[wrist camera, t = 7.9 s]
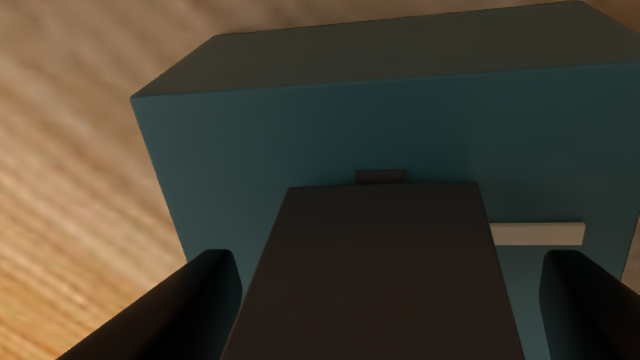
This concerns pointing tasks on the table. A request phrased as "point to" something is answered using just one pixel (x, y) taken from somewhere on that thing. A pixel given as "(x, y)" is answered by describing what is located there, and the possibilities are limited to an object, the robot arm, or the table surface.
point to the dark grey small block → (378, 278)
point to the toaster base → (412, 130)
